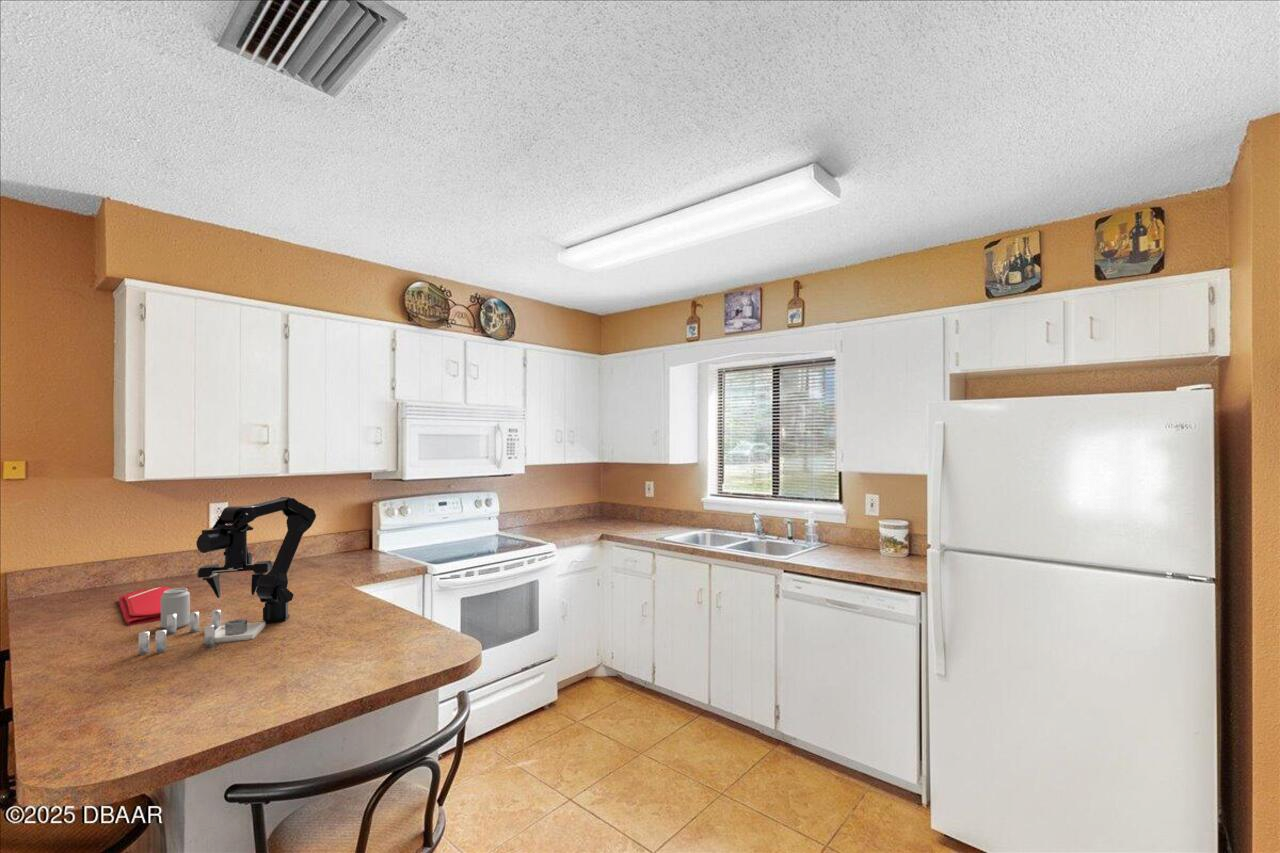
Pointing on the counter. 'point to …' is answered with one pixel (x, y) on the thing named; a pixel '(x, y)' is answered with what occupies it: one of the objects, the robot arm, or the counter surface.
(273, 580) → the robot arm
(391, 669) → the counter surface
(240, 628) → the grey faceted icosahedron
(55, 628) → the counter surface
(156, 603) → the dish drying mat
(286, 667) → the counter surface
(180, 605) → the can
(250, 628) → the tray
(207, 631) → the spacer posts
